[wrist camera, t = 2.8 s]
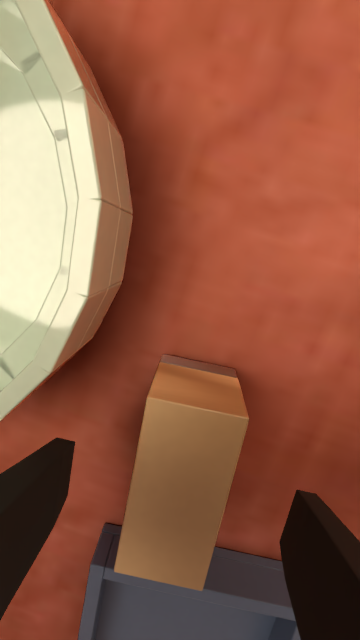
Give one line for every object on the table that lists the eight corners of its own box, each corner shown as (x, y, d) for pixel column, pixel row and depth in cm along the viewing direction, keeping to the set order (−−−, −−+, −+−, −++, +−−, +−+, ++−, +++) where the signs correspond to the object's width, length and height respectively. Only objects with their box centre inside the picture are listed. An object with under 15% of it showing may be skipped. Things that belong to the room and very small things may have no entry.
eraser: (135, 486, 15) (113, 572, 11) (162, 352, 13) (146, 396, 10) (202, 501, 15) (202, 592, 11) (235, 368, 13) (249, 418, 10)
